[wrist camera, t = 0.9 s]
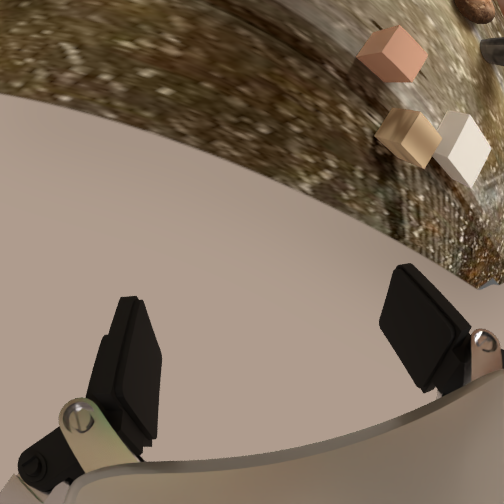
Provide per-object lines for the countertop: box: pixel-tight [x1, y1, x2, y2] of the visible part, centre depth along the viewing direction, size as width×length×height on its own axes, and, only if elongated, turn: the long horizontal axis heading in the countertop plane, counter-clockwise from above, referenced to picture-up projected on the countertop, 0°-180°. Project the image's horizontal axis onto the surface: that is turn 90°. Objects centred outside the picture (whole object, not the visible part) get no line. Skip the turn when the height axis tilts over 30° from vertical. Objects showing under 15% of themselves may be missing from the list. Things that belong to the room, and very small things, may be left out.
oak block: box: [374, 108, 442, 169], centre depth 30 cm, size 5×5×6 cm
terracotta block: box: [356, 25, 428, 82], centre depth 24 cm, size 5×5×6 cm
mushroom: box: [454, 0, 495, 24], centre depth 19 cm, size 8×8×6 cm
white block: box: [432, 110, 491, 188], centre depth 32 cm, size 8×8×5 cm
